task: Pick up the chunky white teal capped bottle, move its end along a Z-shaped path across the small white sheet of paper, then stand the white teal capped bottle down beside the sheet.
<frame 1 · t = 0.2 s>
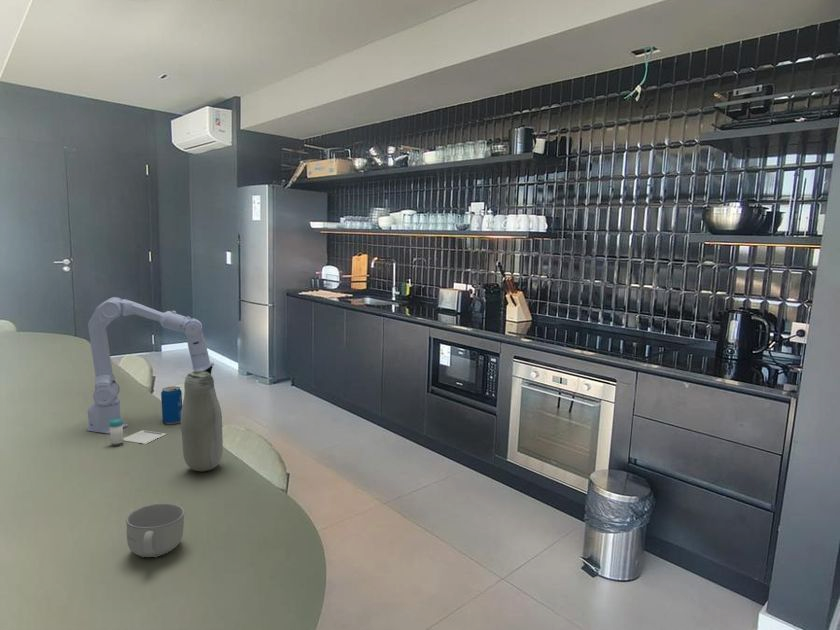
hand: (207, 390, 190), 11 cm above the table, tool pointing down, fingers open, 7 cm apart
beverage can: (173, 422, 189), on the table
paper: (144, 437, 174), on the table
white teal capped bottle: (117, 444, 167), on the table
teacup: (154, 554, 111), on the table
grey bottle: (203, 469, 151), on the table
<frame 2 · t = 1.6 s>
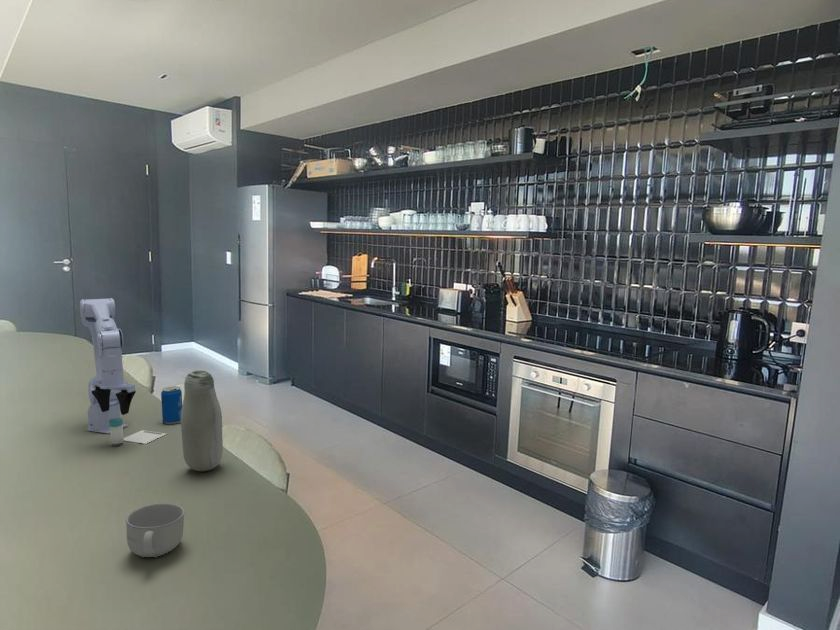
hand: (115, 412, 166), 10 cm above the table, tool pointing down, fingers open, 7 cm apart
nothing on the table moved.
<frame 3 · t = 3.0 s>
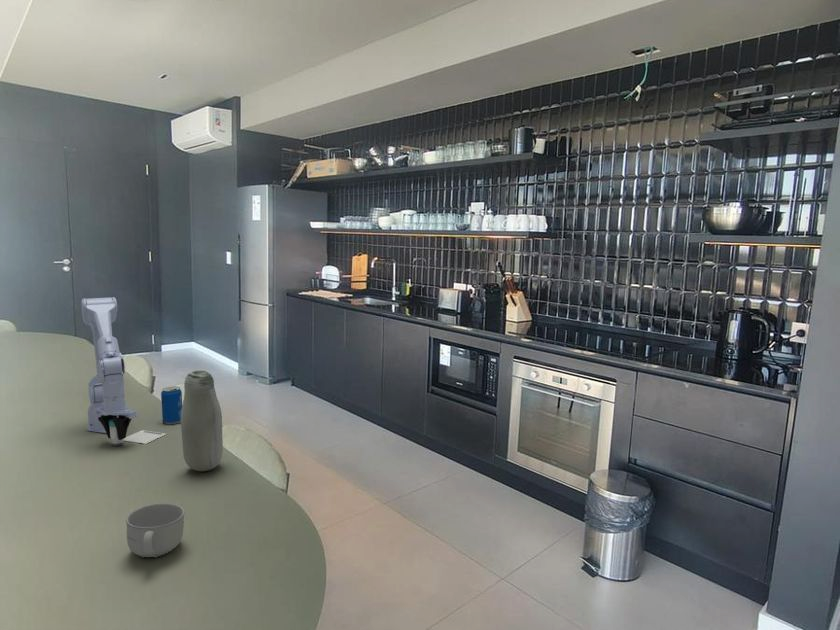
hand: (116, 437, 167), 2 cm above the table, tool pointing down, fingers closed on white teal capped bottle, 3 cm apart
white teal capped bottle: (117, 444, 167), on the table, touching gripper
everything else where it was.
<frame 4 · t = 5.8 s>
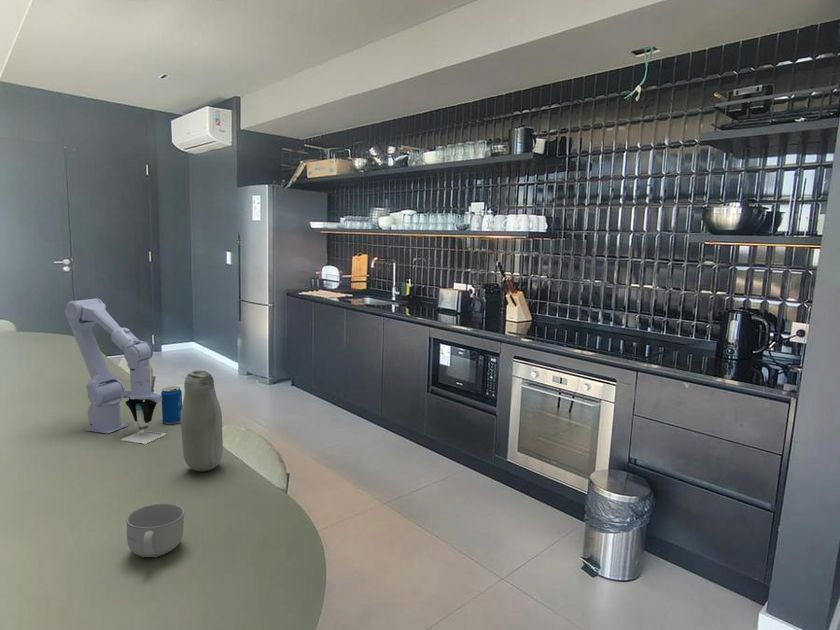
hand: (143, 421, 176), 5 cm above the table, tool pointing down, fingers closed on white teal capped bottle, 3 cm apart
white teal capped bottle: (143, 427, 176), point 2 cm above the table, touching gripper
everything else where it was.
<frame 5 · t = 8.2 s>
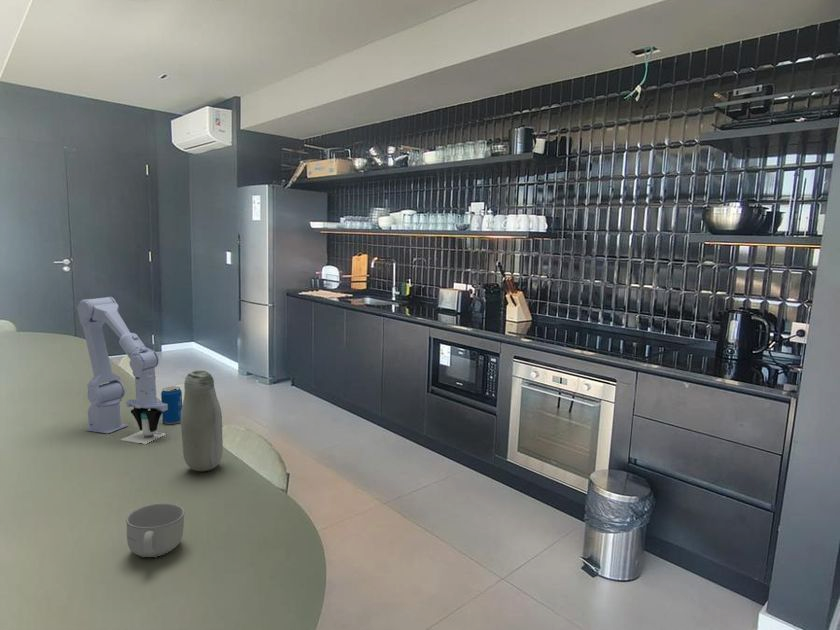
hand: (148, 430, 173), 2 cm above the table, tool pointing down, fingers closed on white teal capped bottle, 3 cm apart
white teal capped bottle: (148, 436, 174), on the table, touching gripper
everything else where it was.
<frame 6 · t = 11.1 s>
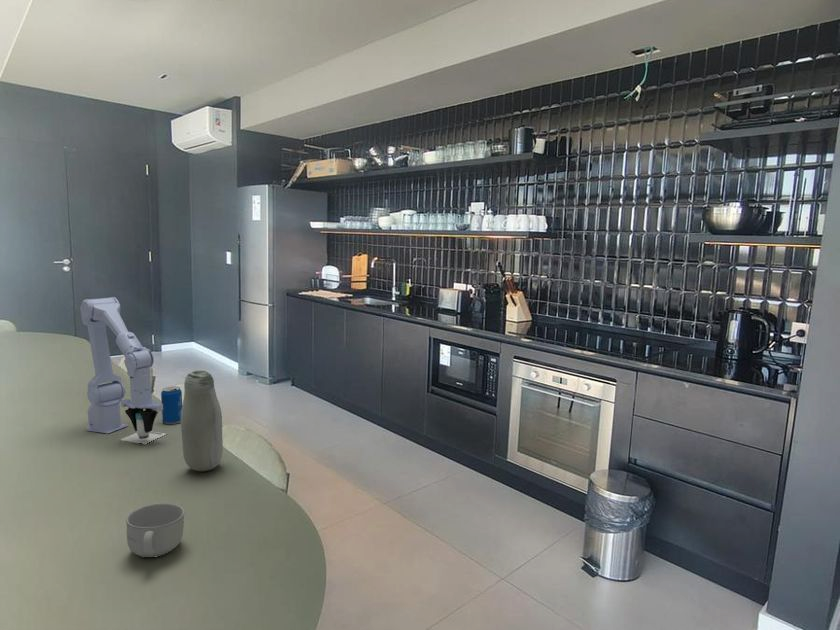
hand: (143, 430, 169), 4 cm above the table, tool pointing down, fingers closed on white teal capped bottle, 3 cm apart
white teal capped bottle: (143, 437, 170), point 2 cm above the table, touching gripper
everything else where it was.
when the fingers open (3 cm above the table, at t = 13.6 s): white teal capped bottle drops 1 cm, on the table.
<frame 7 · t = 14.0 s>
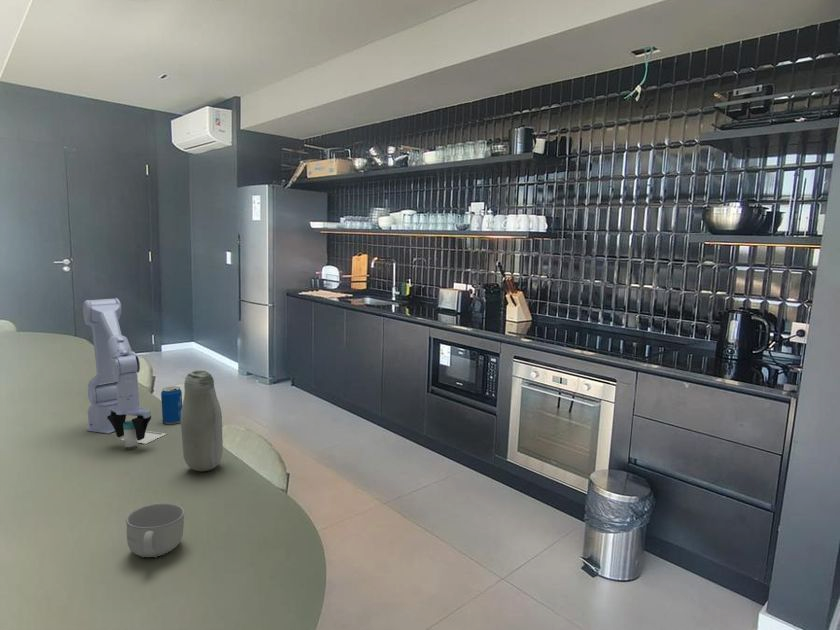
hand: (130, 437, 165), 3 cm above the table, tool pointing down, fingers open, 7 cm apart
white teal capped bottle: (131, 447, 165), on the table
everything else where it was.
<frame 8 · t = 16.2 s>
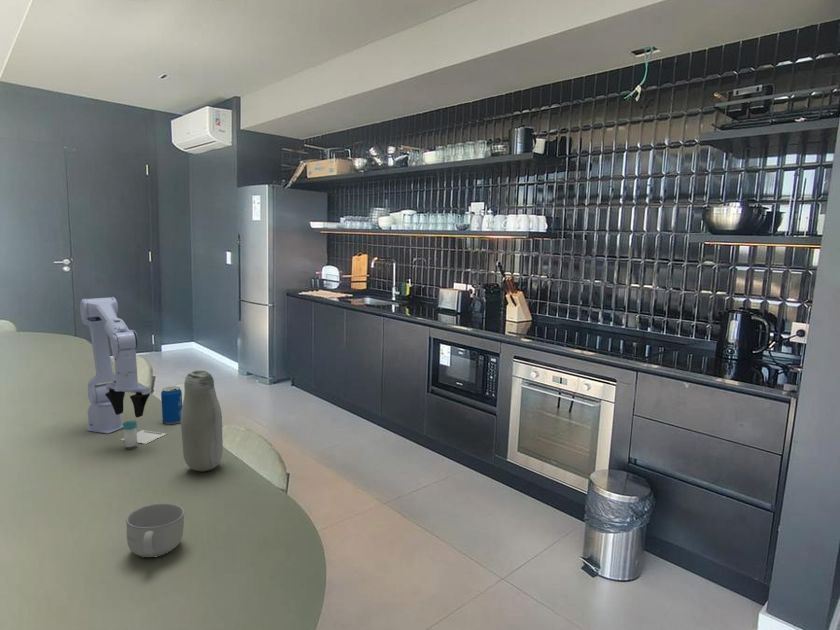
hand: (129, 415, 164), 10 cm above the table, tool pointing down, fingers open, 7 cm apart
nothing on the table moved.
at the end: white teal capped bottle 0.2 cm from the target spot, on the table; white teal capped bottle tilted 0°; the gripper is holding nothing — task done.
